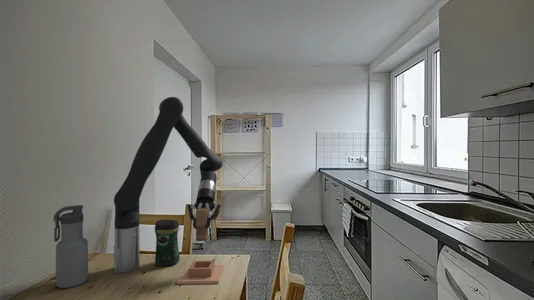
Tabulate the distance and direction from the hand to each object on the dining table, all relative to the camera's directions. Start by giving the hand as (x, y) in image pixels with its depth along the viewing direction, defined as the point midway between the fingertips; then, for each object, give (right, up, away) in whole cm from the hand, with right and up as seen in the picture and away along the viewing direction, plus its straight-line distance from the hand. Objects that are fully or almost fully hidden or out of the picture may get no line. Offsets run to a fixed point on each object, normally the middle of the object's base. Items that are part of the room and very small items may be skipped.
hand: (201, 227), depth 112 cm
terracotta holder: (+1, -18, -1) cm, 18 cm away
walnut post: (0, -5, +2) cm, 5 cm away
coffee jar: (-17, -18, +12) cm, 28 cm away
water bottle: (-46, -19, -7) cm, 50 cm away
